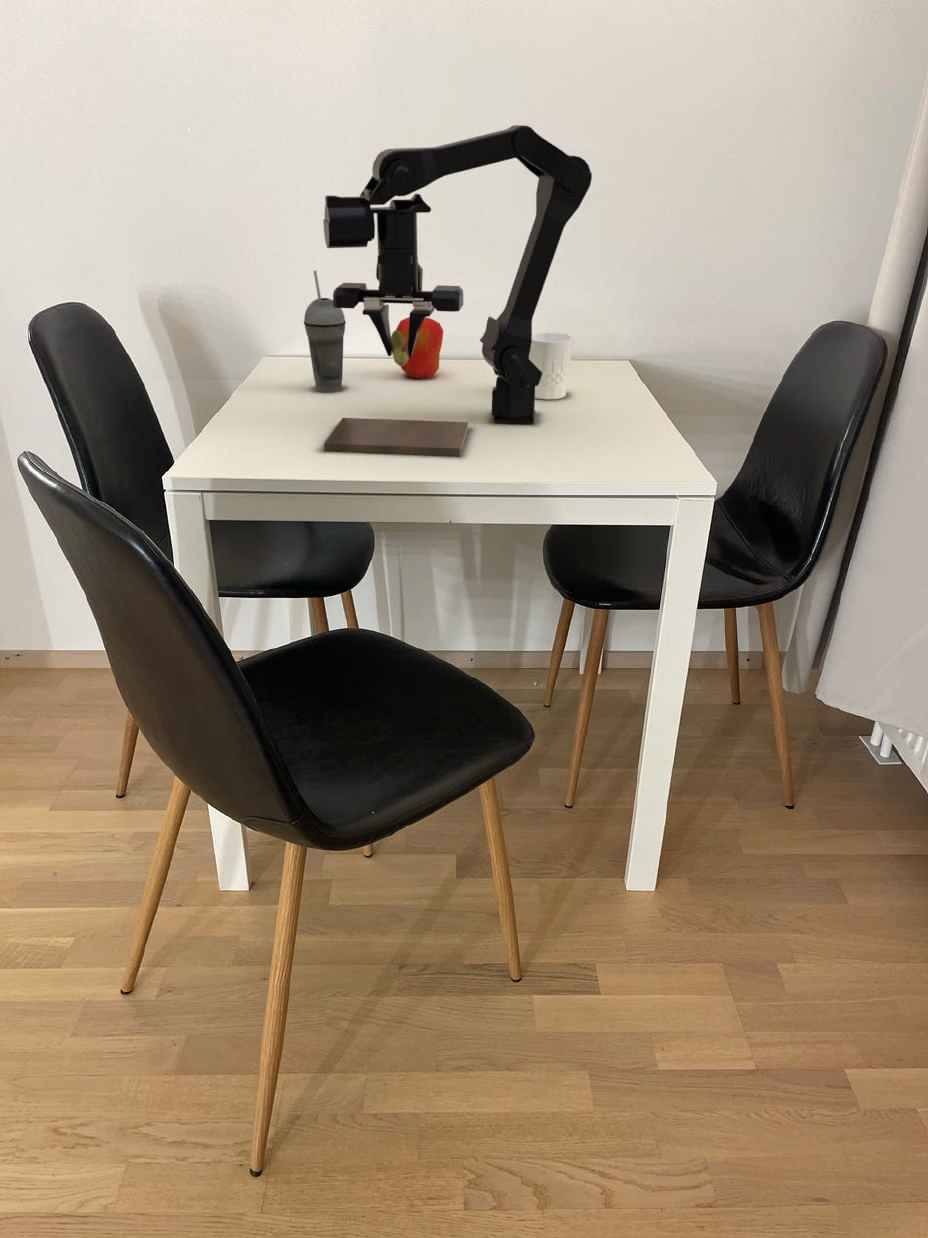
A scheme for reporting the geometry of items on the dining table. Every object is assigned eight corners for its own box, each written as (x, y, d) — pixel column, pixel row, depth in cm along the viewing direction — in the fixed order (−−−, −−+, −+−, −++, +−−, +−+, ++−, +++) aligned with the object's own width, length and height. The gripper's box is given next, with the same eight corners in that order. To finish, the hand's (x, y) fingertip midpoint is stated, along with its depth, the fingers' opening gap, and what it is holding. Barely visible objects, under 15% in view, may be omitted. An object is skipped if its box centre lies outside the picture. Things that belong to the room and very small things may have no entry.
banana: (389, 355, 146) (388, 329, 144) (404, 354, 146) (404, 328, 144) (396, 370, 137) (395, 343, 135) (412, 370, 137) (411, 342, 135)
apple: (388, 377, 173) (386, 312, 167) (413, 368, 179) (412, 305, 173) (426, 384, 169) (425, 317, 163) (451, 374, 175) (451, 310, 169)
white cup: (518, 397, 161) (520, 339, 156) (532, 386, 168) (535, 330, 163) (561, 402, 159) (565, 343, 154) (574, 391, 165) (578, 334, 160)
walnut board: (468, 429, 145) (468, 422, 144) (459, 456, 134) (460, 448, 133) (342, 424, 146) (342, 417, 146) (324, 451, 135) (323, 443, 135)
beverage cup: (342, 395, 162) (335, 274, 152) (302, 392, 163) (293, 273, 153) (354, 384, 168) (348, 268, 158) (316, 382, 169) (308, 266, 159)
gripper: (468, 241, 139) (467, 346, 147) (347, 238, 141) (352, 342, 149) (458, 250, 130) (458, 362, 137) (329, 247, 132) (335, 358, 139)
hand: (400, 355), depth 141 cm, fingers closed on banana, 3 cm apart
